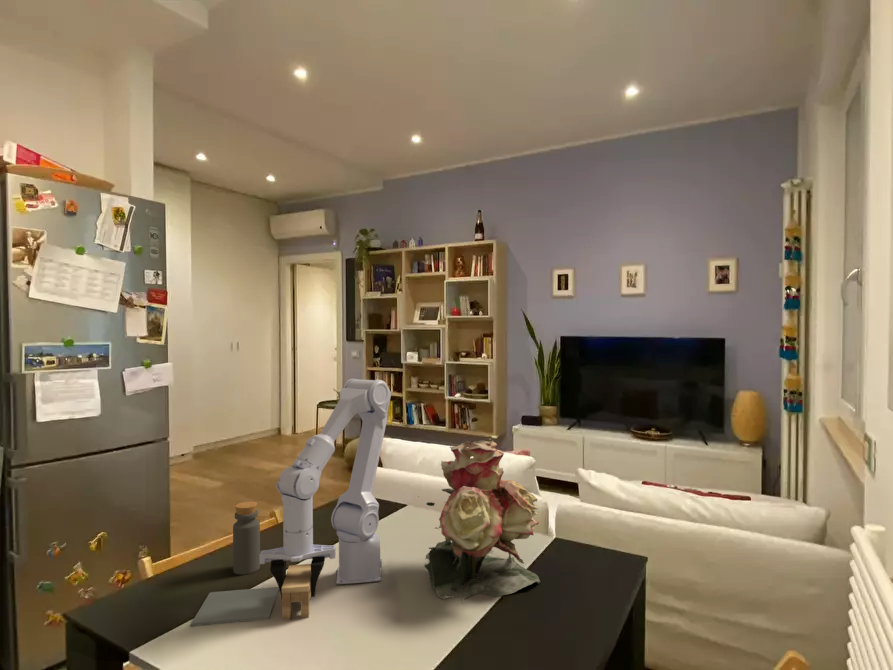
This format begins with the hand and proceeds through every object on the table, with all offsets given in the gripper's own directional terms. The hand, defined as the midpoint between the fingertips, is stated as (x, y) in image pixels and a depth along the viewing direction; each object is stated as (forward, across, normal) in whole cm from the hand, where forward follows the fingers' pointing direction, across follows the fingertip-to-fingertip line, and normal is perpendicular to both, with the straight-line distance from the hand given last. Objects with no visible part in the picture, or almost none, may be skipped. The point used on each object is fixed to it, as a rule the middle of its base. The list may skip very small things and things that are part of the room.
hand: (298, 595), depth 102 cm
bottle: (+2, -14, +19) cm, 24 cm away
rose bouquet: (+2, +40, +8) cm, 40 cm away
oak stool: (+2, 0, 0) cm, 2 cm away
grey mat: (+2, -12, +2) cm, 12 cm away
